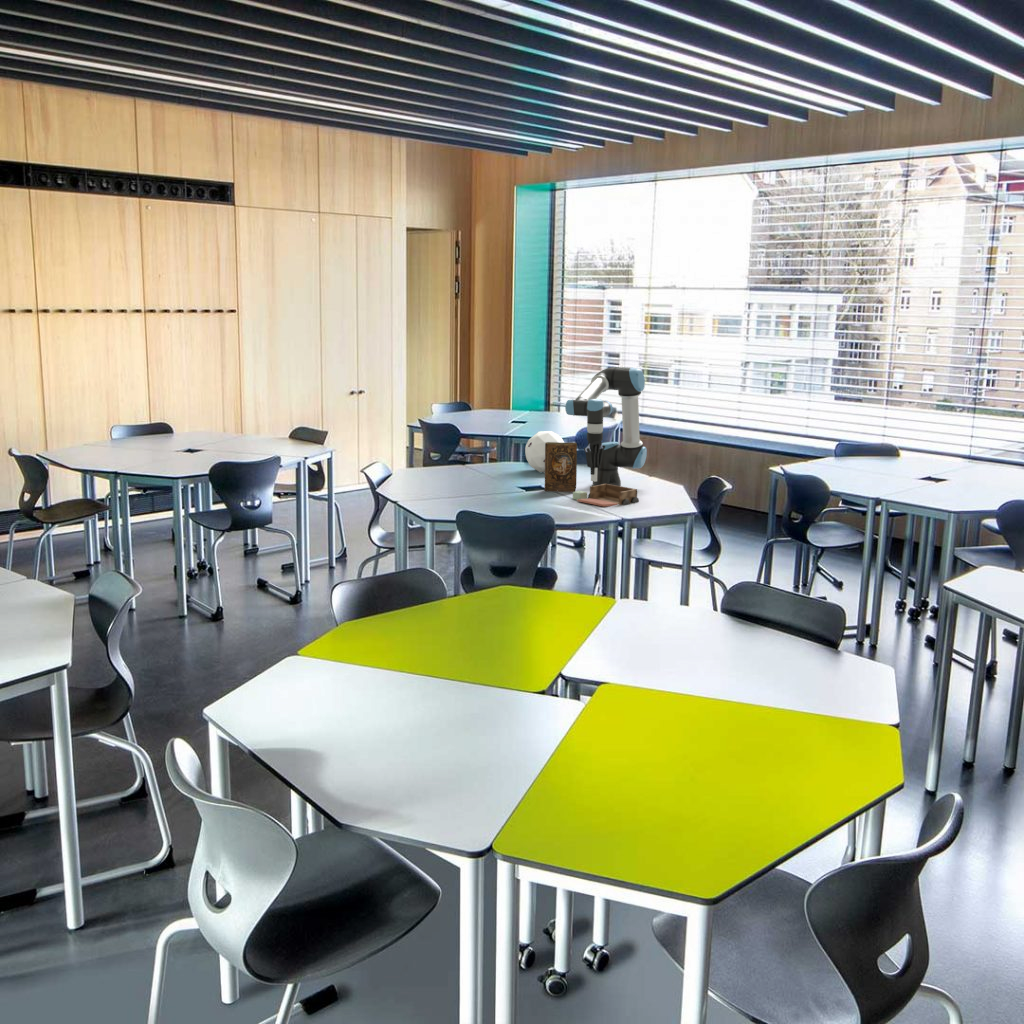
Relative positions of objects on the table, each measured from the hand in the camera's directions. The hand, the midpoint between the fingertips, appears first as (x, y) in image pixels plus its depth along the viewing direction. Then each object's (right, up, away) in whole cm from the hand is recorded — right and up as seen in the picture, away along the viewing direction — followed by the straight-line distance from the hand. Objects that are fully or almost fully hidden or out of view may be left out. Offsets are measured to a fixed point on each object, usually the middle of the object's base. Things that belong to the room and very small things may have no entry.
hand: (594, 480), depth 473 cm
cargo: (-6, -10, +15) cm, 19 cm away
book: (-14, -4, +41) cm, 44 cm away
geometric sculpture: (-20, +8, +97) cm, 100 cm away
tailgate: (+6, -10, +8) cm, 14 cm away
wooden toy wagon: (+10, -10, +13) cm, 19 cm away
